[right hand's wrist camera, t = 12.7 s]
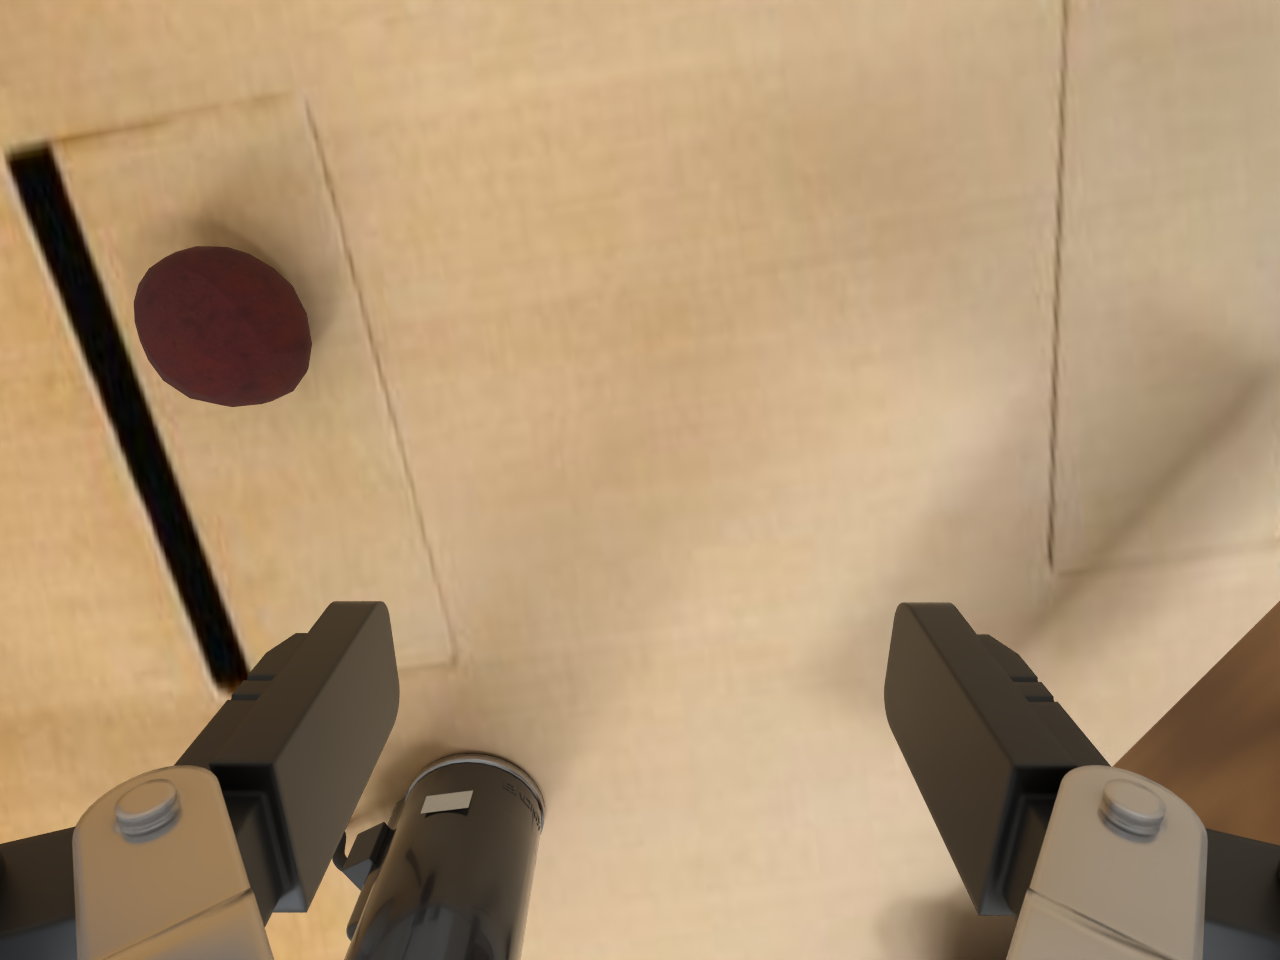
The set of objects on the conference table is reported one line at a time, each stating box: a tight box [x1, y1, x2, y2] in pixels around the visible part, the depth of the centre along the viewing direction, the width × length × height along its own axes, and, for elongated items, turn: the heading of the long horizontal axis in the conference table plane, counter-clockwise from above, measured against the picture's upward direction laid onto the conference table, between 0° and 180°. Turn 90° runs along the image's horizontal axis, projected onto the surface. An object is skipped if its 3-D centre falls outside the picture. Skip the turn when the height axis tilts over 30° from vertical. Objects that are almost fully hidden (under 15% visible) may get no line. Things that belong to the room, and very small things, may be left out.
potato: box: [134, 246, 312, 407], centre depth 35 cm, size 7×8×7 cm
